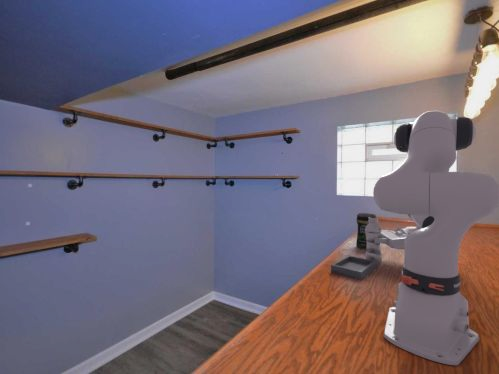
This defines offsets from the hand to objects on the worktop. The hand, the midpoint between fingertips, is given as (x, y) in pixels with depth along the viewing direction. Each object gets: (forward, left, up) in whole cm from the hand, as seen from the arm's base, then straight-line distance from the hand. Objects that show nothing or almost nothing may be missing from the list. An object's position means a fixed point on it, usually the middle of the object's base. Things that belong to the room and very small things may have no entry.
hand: (371, 237), depth 112 cm
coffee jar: (+23, +10, -11) cm, 27 cm away
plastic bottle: (+1, -1, -11) cm, 11 cm away
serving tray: (-14, +2, -11) cm, 18 cm away
